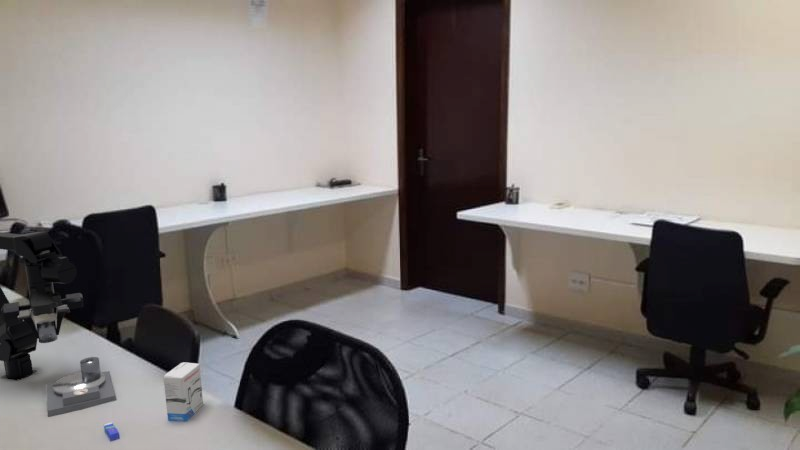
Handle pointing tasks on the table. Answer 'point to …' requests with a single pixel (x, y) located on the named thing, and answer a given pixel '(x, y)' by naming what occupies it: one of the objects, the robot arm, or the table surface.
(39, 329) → the cylinder
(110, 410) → the table surface
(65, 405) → the scale
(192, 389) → the ink box
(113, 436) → the eraser
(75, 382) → the scale pan
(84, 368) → the cylinder
